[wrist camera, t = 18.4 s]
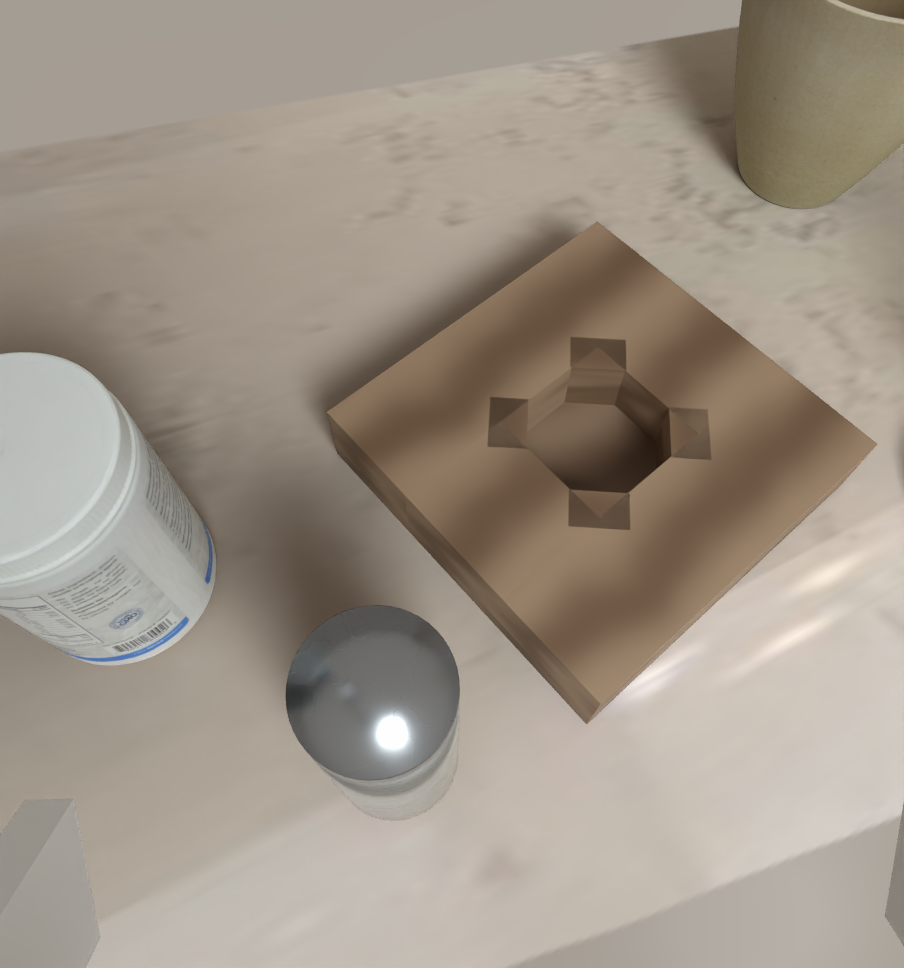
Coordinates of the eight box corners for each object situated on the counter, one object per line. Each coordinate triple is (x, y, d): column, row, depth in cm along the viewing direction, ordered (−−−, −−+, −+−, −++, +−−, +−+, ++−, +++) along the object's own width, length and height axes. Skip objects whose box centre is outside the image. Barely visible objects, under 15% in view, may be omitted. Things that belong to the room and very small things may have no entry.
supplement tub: (92, 482, 48) (-47, 319, 35) (249, 525, 46) (167, 372, 33) (5, 644, 44) (-192, 528, 30) (174, 696, 42) (46, 599, 29)
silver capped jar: (313, 728, 41) (258, 654, 30) (422, 670, 43) (410, 577, 31) (367, 845, 39) (330, 813, 27) (480, 779, 40) (491, 723, 29)
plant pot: (744, 278, 54) (847, 50, 40) (650, 121, 60) (709, -123, 46) (950, 223, 56) (1119, -12, 42) (838, 77, 62) (950, -170, 48)
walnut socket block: (337, 453, 48) (326, 411, 44) (587, 272, 54) (597, 221, 50) (586, 724, 41) (600, 704, 37) (842, 483, 47) (877, 444, 43)
